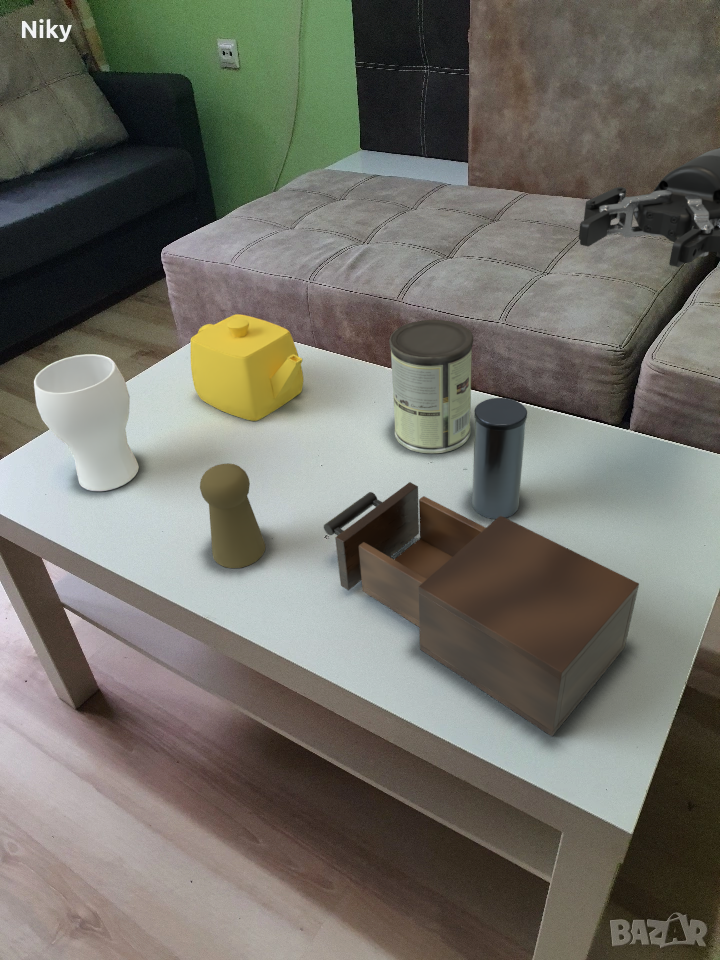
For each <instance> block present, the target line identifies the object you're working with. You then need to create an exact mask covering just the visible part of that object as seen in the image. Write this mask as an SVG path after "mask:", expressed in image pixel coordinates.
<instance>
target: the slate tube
mask: <svg viewBox="0 0 720 960" xmlns="http://www.w3.org/2000/svg"><path fill="white" fill-rule="evenodd" d="M473 417H474V435H473V436H474V437H473V438H474V439H473V466H472V467H473V469H472V494H471V495H472V497H471V498H472V501H471V505H472V508H473V510H474V511H475V512H476V513H477V514H479V515H480V516H482V517H484V518H488V519H492V520H493V519H494V520H496V519H497V518H498V517H499V516H502V517H504V518H506V519H507V518H509V517H511V516H513V515H514V514H515V513H516V512H517V511H518V509H519V507H520V496H521V495H520V494H521V484H522V483H521V482H522V472H523V459H524V458H523V457H524V447H525V446H524V445H525V433H526V423H527V422H526V421H527V419H528V410H527V408H526V406H525V405H524V404H522V403H521V402H519V401H517V400H515V399H512V398H507V397H493V398H492V397H491V398H488V399H485V400H483V401H480V402H479V403H478V404H477V405H476V406H475V408H474V410H473Z"/></svg>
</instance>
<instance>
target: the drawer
mask: <svg viewBox="0 0 720 960" xmlns="http://www.w3.org/2000/svg"><path fill="white" fill-rule="evenodd" d="M373 506H374V508H373V509H371V508H372V507H373ZM369 509H371V510H370V511H368V512H367V513H366V514H365V515H363V516H361V515H362V514H363V513H365V512H366V511H367V510H369ZM359 516H361V518H359V519H358V520H357V521H355V522H354V523H352V524H351V525H350V526H348V527H347V528H346V529H343V528H344V527H345V526H347V525H349V524H350V523H351V522H352V521H354V520H355V519H357V518H358V517H359ZM485 528H487V526H486V527H485V526H483V525H482V524H480V523H478V522H476V521H474V520H472V519H470V518H468V517H466V516H464V515H463V514H460V513H458V512H457V511H454V510H452V509H451V508H448V507H446V506H444V505H442V504H441V503H438V502H437V501H435V500H432V499H431V498H429V497H427V496H424V495H423V496H422V497H420V498H419V486H418V485H417V484H414V483H412V482H408V483H406V484H405V485H404V486H402V487H401V488H400V489H398V490H397V491H395V492H394V493H393V494H391V495H390V496H388V498H386V499H385V500H383V501H381V500H379V499H378V497H377V495H376V494H375V493H374V492H372V491H369V492H368V493H366V494H364V495H363V496H362V497H360V498H359V499H357V500H356V501H355V502H353V503H352V504H350V505H349V506H348V507H346V508H345V509H343V510H342V511H341V512H340V513H339V514H337V515H336V516H334V517H333V518H331V519H330V520H328V521H327V522H325V524H323V529H324V532H325V534H327V535H328V536H333V535H335V538H334V539H335V547H336V557H337V566H338V574H339V584H340V586H341V587H342V588H343V589H346V590H347V591H350V590H351V589H353V588H354V587H355V586H357V585H358V584H359V583H360V582H361V589H362V590H361V591H362V592H364V593H365V594H367V595H368V596H369V597H371V598H373V599H374V600H376V601H377V602H379V603H381V604H382V605H384V606H385V607H387V608H388V609H390V610H391V611H392V612H395V613H396V614H398V615H399V616H401V617H403V618H404V619H405V620H407V621H409V622H410V623H412V624H413V625H415V626H416V627H418V628H419V592H418V587H419V586H420V585H421V584H422V583H423V582H424V581H425V580H427V579H428V578H429V577H430V576H431V575H432V574H434V573H435V572H436V571H437V570H438V569H439V568H440V567H442V566H443V565H444V564H445V563H446V562H447V561H449V560H450V559H451V558H452V557H453V556H454V555H455V554H457V553H458V552H459V551H460V550H461V549H462V548H464V547H465V546H466V545H467V544H468V543H469V542H470V541H472V540H473V539H474V538H475V537H476V536H477V535H479V534H480V533H481V532H482V531H483V530H484V529H485ZM418 535H419V539H417V540H416V541H415V542H414V543H413V544H411V545H410V546H409V547H407V548H406V549H405V550H404V551H403V552H401V553H400V554H399V555H397V556H396V557H395V558H392V556H394V555H395V554H396V553H398V551H400V550H401V549H402V548H404V546H406V545H407V544H408V543H410V542H411V541H412V540H414V539H415V538H416V537H417V536H418Z"/></svg>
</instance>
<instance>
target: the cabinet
mask: <svg viewBox="0 0 720 960" xmlns="http://www.w3.org/2000/svg"><path fill="white" fill-rule="evenodd" d="M639 587H640V583H639V582H636V581H635V580H632V579H631V578H629V577H627V576H624V575H622V574H621V573H619V572H617V571H615V570H612V569H611V568H609V567H606V566H604V565H602V564H600V563H598V562H596V561H594V560H592V559H590V558H588V557H586V556H584V555H582V554H580V553H578V552H576V551H574V550H572V549H570V548H567V547H566V546H563V545H562V544H559V543H557V542H556V541H554V540H551V539H550V538H547V537H545V536H543V535H541V534H539V533H537V532H535V531H533V530H530V529H529V528H527V527H524V526H523V525H521V524H518V523H517V522H514V521H513V520H511V519H509V518H507V517H506V518H504V517H502V516H499V517H498V518H497V519H494V520H493V521H492V522H491V523H490V524H489V525H488V526H486V528H485V529H484V530H483V531H482V532H481V533H480V534H479V535H477V536H476V537H475V538H474V539H473V540H472V541H470V542H469V543H468V544H467V545H466V546H465V547H464V548H462V549H461V550H460V551H459V552H458V553H457V554H455V555H454V556H453V557H452V558H451V559H450V560H449V561H447V562H446V563H445V564H444V565H443V566H442V567H440V568H439V569H438V570H437V571H436V572H435V573H434V574H432V575H431V576H430V577H429V578H428V579H427V580H425V581H424V582H423V583H422V584H421V585H420V586H419V587H418V592H419V627H418V628H419V650H420V651H422V652H423V653H425V654H426V655H428V656H429V657H431V658H433V659H434V661H437V662H438V663H440V664H442V665H443V666H445V667H446V668H447V669H449V670H450V671H452V672H453V673H455V674H457V675H458V676H460V677H461V678H463V679H464V680H466V681H467V682H469V683H470V684H472V685H473V686H475V687H476V688H478V689H480V690H481V691H482V692H483V693H485V694H487V695H488V696H490V697H491V698H493V699H494V700H495V701H497V702H499V703H500V704H502V705H503V706H505V707H506V708H508V709H509V710H511V711H513V712H514V713H516V714H517V715H519V716H520V717H522V718H523V719H525V720H526V721H527V722H529V723H531V724H532V725H534V726H535V727H537V728H538V729H540V730H541V731H543V732H544V733H546V734H547V735H549V736H550V737H553V736H554V735H555V734H556V733H557V731H559V729H560V728H561V726H562V725H563V724H565V721H566V720H567V719H568V718H569V717H570V715H571V714H572V713H573V712H574V710H575V709H576V708H577V707H578V706H579V705H580V703H581V702H582V701H583V699H584V698H585V697H586V696H587V695H588V694H589V692H590V691H591V690H592V689H593V687H594V686H595V685H596V684H597V682H598V681H599V680H600V679H601V677H602V676H603V675H604V674H605V673H606V672H607V671H608V669H609V668H610V666H611V665H612V664H613V663H614V662H615V660H616V659H617V658H618V657H619V655H620V654H622V652H623V651H624V649H625V648H626V644H627V640H628V634H629V631H630V626H631V622H632V617H633V614H634V613H633V612H634V608H635V604H636V599H637V597H638V590H639Z"/></svg>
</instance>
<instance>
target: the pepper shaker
mask: <svg viewBox="0 0 720 960" xmlns="http://www.w3.org/2000/svg"><path fill="white" fill-rule="evenodd" d="M250 484H251V481H250V478H249V475H248V474H247V471H245V470H244V468H242V467H241V466H240V465H238V464H235V463H219V464H215V465H213V466H212V467H210V468H208V469H207V470H205V471H204V473H203V474H202V476H201V478H200V481H199V490H200V493H201V496H202V499H204V501H205V503H207V504H208V512H209V513H208V514H209V525H210V527H209V529H210V538H211V541H210V542H211V552H212V553H211V554H212V558H213V560H214V562H215V563H217V565H220V566H222V567H223V568H229V569H241V568H246V567H248V566H250V565H253V564H254V563H256V562H258V561H259V560H260V559H261V558H262V557H263V555H264V554H265V552H266V547H267V546H266V541H265V539H264V537H263V534H262V531H261V528H260V526H259V524H258V520H257V518H256V515H255V513H254V510H253V508H252V505H251V502H250V500H249V497H248V495H249V493H250V487H251V485H250Z"/></svg>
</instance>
